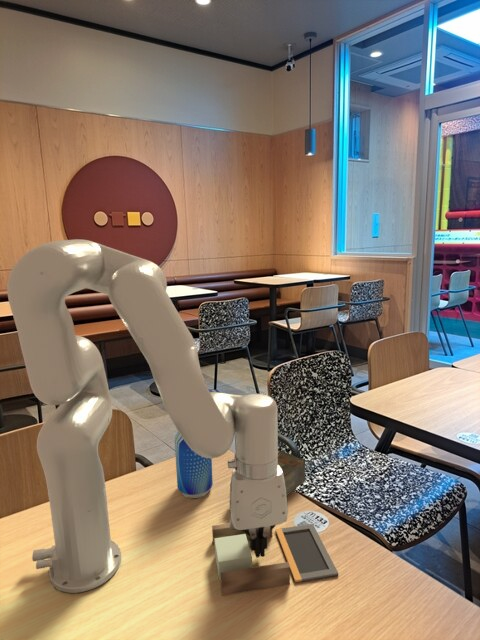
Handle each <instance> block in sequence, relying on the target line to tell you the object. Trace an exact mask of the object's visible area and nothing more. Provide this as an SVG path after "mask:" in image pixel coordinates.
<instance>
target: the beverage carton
mask: <svg viewBox="0 0 480 640" xmlns="http://www.w3.org/2000/svg"><path fill="white" fill-rule="evenodd" d="M278 465H279V466H280V468H281V469H282V471H283V475H284V480H285V487H286V497H287V496H288V495H289V494H291V493H292V492H293V491H295V490H296V489H297V488H299V486H301V485H303V484H304V483H305V482H306V461H305V459H304V458H302V457H298V456H295V455H294V454H291V453H288V452H285V451H284V450H280V451H278ZM229 485H231V482H230V483H229Z"/></svg>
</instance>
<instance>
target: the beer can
mask: <svg viewBox="0 0 480 640" xmlns="http://www.w3.org/2000/svg"><path fill="white" fill-rule="evenodd" d="M174 450H175V451H174V452H175V465H176V466H175V467H176V469H175V471H176V484H177V485H176V487H177V489H178V491H179V492H180V494H182V496H184V497H186V498H188V499H196V498H197V499H198V498H202V497H204V496H206V495H208V493H209V491H211V489H212V487H213V483H214V481H213V462H212V461H213V460H212V459H213V458H205V457H202V456H199V455H198V454H196V453H195V452H194V451H193V450H192V449H191V448H190V447H189V446H188V445H187V444H186V442H185V441H184V439H183V437H182V436H181V434H180V433H179V431H178V430H177V432H176V434H175V436H174Z"/></svg>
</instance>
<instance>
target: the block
mask: <svg viewBox="0 0 480 640" xmlns="http://www.w3.org/2000/svg"><path fill="white" fill-rule="evenodd" d="M214 539H215V545H214V557H215V563H216V568H217V575H218V579H219V582H221V573H222V572H229V571H235V570H241V569H247V568H253V556H252V553H251V552H252V551H251V548H250V543H249V540H247V537H246V534H241V535H234V536H227V537H220V538H214Z"/></svg>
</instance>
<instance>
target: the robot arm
mask: <svg viewBox="0 0 480 640" xmlns="http://www.w3.org/2000/svg"><path fill="white" fill-rule="evenodd" d="M8 276H9V277H8V279H7V280H8V281H7V287H6V290H7V298H8V303H9V307H10V310H11V313H12V316H13V320H14V323H15V327H16V330H17V331H16V332H17V334H18V339H19V344H20V350H21V354H22V357H23V360H24V365H25V369H26V370H25V371H26V374H27V377H28V380H29V381H28V382H29V386H30V388H31V391H32V393H33V394H34V396H35V397H36V398H37V399H38V401H40V402H41V403H43V404H46V405H47V406H48V405H49V406H58V407H57V408H56V409H55V410H54V411H53V412H52V413H51V414H50V415H49V417H48V418H47V419H46V420H45V421H44V423H43V424H42V426H41V428H40V429H39V432H38V435H37V439H36V452H37V455H38V458H39V461H40V464H41V467H42V470H43V472H44V473H43V474H44V477H45V481H46V487H47V494H48V495H47V496H48V500H49V508H50V516H51V521H52V522H51V523H52V530H53V538H54V545H51V547H50V548H39V549H34V550H33V551H32V555H31V557H32V562H36V563H35V568H36V570H39V569H40V570H41V569H45V568H49V571H48V573H49V579H50V583H51V584H52V585H53V587H54V588H56V589H57V590H59V591H61V592H64V593H70V594H71V593H72V594H73V593H75V594H76V593H83V592H86V591H90V590H93V589H95V588H97V587H100V586H102V585H103V584H105V583H106V582H107V581H108V580H109V579H111V578H112V577H113V576H114V574H116V572H117V571H118V569H119V567H120V565H121V560H122V552H121V549H120V547H119V545H118V544H117V543H116V542H115V541H113V540H112V539H111V529H110V519H109V511H108V500H107V492H106V491H107V488H106V484H105V483H106V481H105V473H104V467H103V464H102V462H101V461H102V460H101V459H100V456H99V443H100V441H101V439H103V436H104V434H105V432H106V431H107V429H108V427H109V425H110V423H111V420H112V418H113V403H112V399H111V394H110V388H109V384H108V383H109V382H108V378H107V374H106V369H105V365H104V361H103V358H102V355H101V352H100V350H99V349H98V348H97V346H96V344H94V343H93V342H92V341H91V340H90V339H88V338H86V337H84V336H80V335H76V331H75V326H74V322H73V317H72V315H71V313H70V311H69V309H68V307H67V304H66V298H67V297H68V296H71V295H72V294H73V293H76V292H79V291H82V290H84V289H89V290H93V291H95V292H98V293H101V294H104V295H107V296H108V299H109V301H110V303H111V305H112V307H113V308H114V310H115V311H116V314H117V315H118V316H119V318H120V319H121V322H122V323H123V325H124V326H125V328H126V329H127V331H128V332H129V333H130V334H129V335H130V336H131V337H132V339H133V340H134V342H135V343H136V346H137V347H138V349H139V351H140V352H141V353H142V355H143V356H144V359H145V360H146V362H147V364H148V365H149V368H150V371H151V374H152V377H153V381H154V383H155V385H156V387H157V390H158V392H159V395H160V398H161V401H162V403H163V405H164V408H165V410H166V412H167V414H168V416H169V418H170V420H171V421H172V422H173V423H172V424H173V425H174V426H175V429H177V432H178V431H179V433H180V434H181V436H182V437H183V439H184V441H185V442H186V444H187V445H188V446H189V447H190V448H191V449H192V450H193V451H194V452H195V453H196V454H198V455H199V456H202V457H205V458H212V459H216V458H219V457H221V456H223V455H225V454H226V453H228V451H229V450H230V448H231V447H232V444H233V442H235V446H234V448H235V452H234V457H233V459H230V460H227V467H228V469H232V472H231V477H230V483H231V485H230V484H229V485H230V487H229V512H230V517H229V522H228V523H229V526H230V529H231V530H242V531H243V532H245V533H246V534H248V535H249V536H250V540H249V548H250V552H254V555H255V558H256V559H257V558H260V557H261V558H262V557H266V555H265V553H266V551H265V550H267V549H268V538H269V537H268V536H269V533H270V531H271V530H272V531H273V529H274V528H275V527H276V526H278V525H280V524H283V523H286V522H287V520H288V499H287V496H286V487H285V480H284V475H283V471H282V469H281V468H280V466H279V465H278V452H279V450H278V449H279V445H278V444H279V442H278V441H279V438H278V437H279V436H278V431H279V430H278V429H279V428H278V427H279V426H278V405H277V402H276V401H275V399H274V398H273V397H271V396H270V395H266V394H264V393H251V394H250V393H249V394H245V395H240V394H233V393H226V392H219V391H216V392H215V391H210V390H209V388H208V385H207V383H206V380H205V378H204V376H203V372H202V370H201V365H200V360H199V353H198V350H197V349H198V348H197V345H196V343H195V340H194V336H193V335H192V333H191V332H190V330H189V328H188V327H187V325H186V323H185V322H184V320H183V318H182V316H181V315H180V314H179V312H178V310H177V309H176V307H175V305H174V303H173V301H172V299H171V298H170V296H169V294H168V292H167V286H168V283H167V282H168V281H167V278H166V274H165V273H164V271H163V270H162V268H161V267H160V266H159V265H158V264H156V263H155V262H153V261H151V260H148V259H145V258H142V257H139V256H136V255H132V254H129V253H127V252H124V251H122V250H119V249H115V248H112V247H109V246H106V245H104V244H101V243H98V242H94V241H92V240H88V239H77V238H76V239H75V238H74V239H62V240H61V239H60V240H54V241H49V242H45V243H42V244H40V245H38V246H36V247H34V248H32V249H30V250H29V251H28V252H26V253H25V254H24V255H23V256H21V258H20V259H18V260H17V262H16V263H15V264H14V266H13V267H12V269H11V272H9V275H8ZM256 528H258V529H257V530H256Z"/></svg>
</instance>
